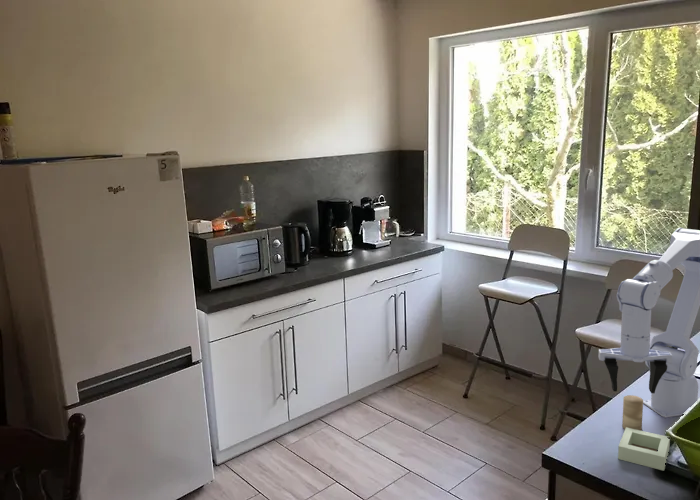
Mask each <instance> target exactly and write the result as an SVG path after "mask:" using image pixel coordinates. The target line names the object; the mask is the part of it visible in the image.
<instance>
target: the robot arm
mask: <svg viewBox="0 0 700 500" xmlns="http://www.w3.org/2000/svg"><path fill="white" fill-rule="evenodd" d="M678 266H683V267H684V270H685V271H684V275H683V278H682V282H681V284H680V288H679V290H678V293H677V296H676V299H675V303H674V306H673V308H672V309H673V310H672V312H671V315H670V318H669V320H668V324H667V327H666V329H665V331H664V332H662V333H659V334H656V335H654V336H653V337H652V339H651V326H652V325H651V324H652V309H653V308H655V306H656V304H657V303H658V300H659V297H660V296H661V293H662V292H661V291H662V289H663V288H664V287H666V285H667V284H669V282H671V280H672V279H673V277H674V271H673V270H675V269H676V268H677V267H678ZM616 292H617V293H616V300H617V302H618V306H619V308H618V310H619V311H620V312H621V323H620V324H621V326H620V327H621V328H620V329H621V331H620V332H621V333H620V347H614V348H613V347H612V348H602V349H600V348H598V354H597V355H598V360H599V361H601V362H602V361H603V362H604V365H605V366H606V369H607V371H608V374H609V377H610V382H611V388H612V391H613V392H618V373H619V372H618V371H619V366H618V361H632V362H634V363H644V362H645V363H644V364H645V366H646V367H648V368H649V381H648V390H649V392H650V394H651V395H650V396H651V397H650V399H646V400H643V405H645V406H646V407H648V408H649V409H651V410H652V411H654V412H655V413H657V414H659V416H661V417H662V418H672V417H679V416H683V415H682V414H683V413H684V412H685V411H686V410H687V409H688V408H689V407H691V406H692V405H693V404H694V403H695V402H696V401H697V402H698V398H699V397H698V396H699V395H698V394H699V383H698V380H697V378H696V376H695V375H694V374H695V373H696V370H697V367H698V358H699V349H698V348H697V345H695V343H694V342H693V341H692V340H691V338H690V336H691V333H692V330H693V328H694V325H695V321H696V318H697V315H698V313H699V309H700V230H699V229H691V228H684V227H678V228H676V229H675V230H674V231H673V232H672V234H671V236H670V240H669V246H668V248H667V249H666V250H665V251H664V253H663V254H662V255H661V257H660V258H659V259H654V260H653V259H652V260H651V261H649V262H647V264H645V266H644V267H643V268H642V269H641V270H640V271H638V273H636V275H634V277H633V278H627V279H624V280H623V281H621V282H620V284H619V285H618V289H617V291H616ZM673 347H674V348H673Z"/></svg>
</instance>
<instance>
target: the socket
mask: <svg viewBox="0 0 700 500" xmlns="http://www.w3.org/2000/svg"><path fill="white" fill-rule="evenodd" d="M667 437H668V436H667V435H662V434H658V433H652V432H649V431H643V430H641V431H640V430H636V429H632V428H627V427H626V429H624V431H623V433H622V436H621V438H620V441H619V444H618V453H617V459H618V460H621V461H625V462H629V463H633V464H636V465H641V466H643V467H647V468H652V469H656V470H659V471H662V472H663V471H665V469H666V465H665V463H666V464H667V461H666V459H667V460H668V457H669V453H670V447H671V446H670V444H671V443H670V442H671V438H670V439H668V438H667ZM657 450H658V451H657ZM668 452H669V453H668ZM667 456H668V457H667Z"/></svg>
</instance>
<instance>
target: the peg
mask: <svg viewBox="0 0 700 500" xmlns="http://www.w3.org/2000/svg"><path fill="white" fill-rule="evenodd" d="M622 399H623V403H622V405H623V406H622V423H621V424H622V425H621V426H622V429H624V430H625V429H626V427H627V428H632V429H636V430H640V431H643V430H642V428H643V415H644V414H643V413H644V412H643V409H644V404H643V401H644V399H643V398H642V397H640V396H638V395H633V394H632V395H625V396H623V398H622Z"/></svg>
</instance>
